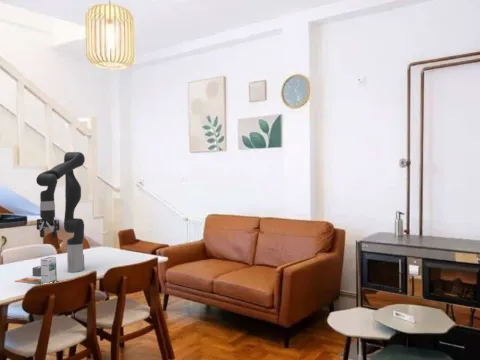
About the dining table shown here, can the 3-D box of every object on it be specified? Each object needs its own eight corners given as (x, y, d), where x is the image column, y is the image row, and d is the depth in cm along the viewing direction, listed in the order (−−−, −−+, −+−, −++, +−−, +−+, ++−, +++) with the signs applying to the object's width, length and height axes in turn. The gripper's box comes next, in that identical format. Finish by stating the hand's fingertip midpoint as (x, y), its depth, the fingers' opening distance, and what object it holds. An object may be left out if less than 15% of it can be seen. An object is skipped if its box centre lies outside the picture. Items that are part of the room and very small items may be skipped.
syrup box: (48, 285, 219) (48, 259, 218) (40, 283, 221) (40, 258, 220) (56, 282, 224) (56, 257, 224) (49, 281, 226) (48, 256, 226)
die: (39, 273, 242) (39, 265, 242) (45, 274, 241) (45, 266, 241) (32, 276, 238) (32, 267, 238) (38, 276, 236) (38, 268, 236)
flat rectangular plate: (26, 277, 233) (26, 277, 233) (60, 281, 225) (60, 281, 225) (14, 281, 226) (14, 281, 226) (48, 285, 217) (48, 285, 217)
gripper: (62, 208, 222) (63, 237, 223) (43, 208, 227) (43, 235, 228) (52, 210, 215) (52, 239, 216) (32, 209, 220) (33, 238, 221)
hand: (48, 237), depth 222 cm, fingers open, 8 cm apart
